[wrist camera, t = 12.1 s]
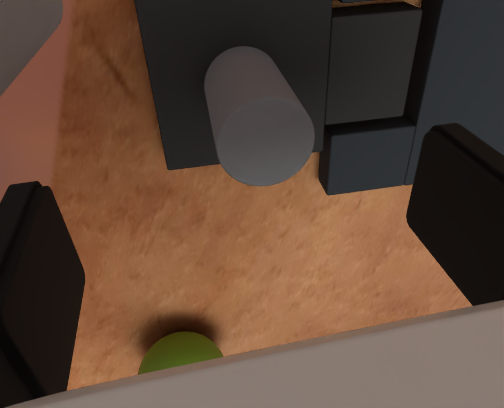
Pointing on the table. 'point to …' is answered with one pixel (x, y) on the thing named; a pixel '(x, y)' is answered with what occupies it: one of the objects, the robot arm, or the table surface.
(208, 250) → the table surface
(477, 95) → the dock pad
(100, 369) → the table surface
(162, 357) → the snail figurine
